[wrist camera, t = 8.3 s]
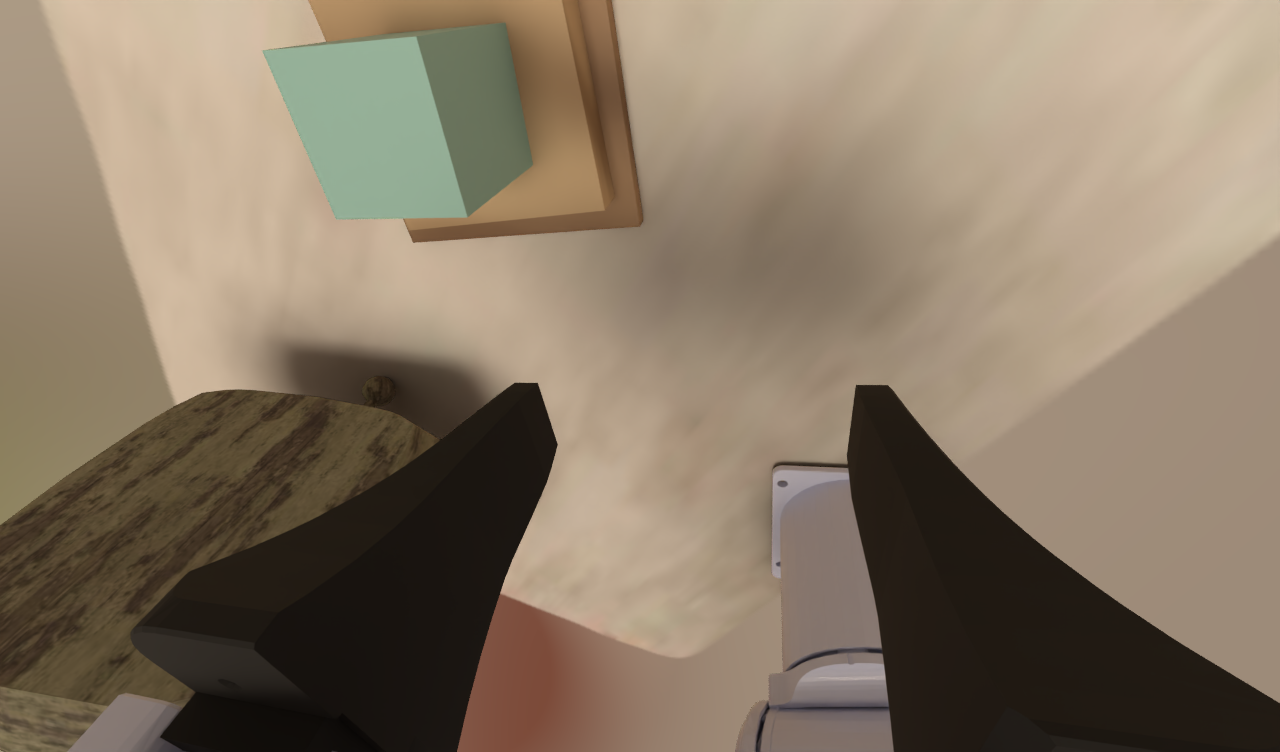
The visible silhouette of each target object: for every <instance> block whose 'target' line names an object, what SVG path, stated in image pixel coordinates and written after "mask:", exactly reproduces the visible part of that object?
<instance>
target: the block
mask: <svg viewBox="0 0 1280 752" xmlns="http://www.w3.org/2000/svg"><path fill="white" fill-rule="evenodd" d="M263 53H264V56H265V58H266V60H267V63H268V65H269V67H270V69H271V72H272V74H273V76H274V79H275V81H276V83H277V85H278V88H279V90H280V92H281V95H282V97H283V99H284V101H285V104H286V106H287V108H288V111H289V113H290V115H291V117H292V120H293V122H294V124H295V126H296V129H297V131H298V133H299V136H300V138H301V140H302V142H303V145H304V147H305V149H306V152H307V154H308V156H309V158H310V161H311V163H312V165H313V168H314V170H315V172H316V174H317V177H318V179H319V181H320V184H321V186H322V188H323V190H324V193H325V195H326V197H327V200H328V202H329V204H330V206H331V209H332V211H333V213H334V216H335V218H336V219H400V218H465V217H469V216H470V215H471V214H472V213H474V212H475V211H476V210H477V209H479V208H480V207H481V206H482V205H484V204H485V203H486V202H488V201H489V200H490V199H491V198H493V197H494V196H495V195H496V194H498V193H499V192H500V191H501V190H503V189H504V188H505V187H506V186H508V185H509V184H510V183H511V182H513V181H514V180H515V179H516V178H518V177H519V176H520V175H521V174H523V173H524V172H525V171H526V170H528V169H529V168H530V167H531V166H533V161H532V156H531V151H530V146H529V141H528V136H527V130H526V125H525V120H524V115H523V110H522V105H521V100H520V95H519V89H518V84H517V79H516V74H515V69H514V64H513V59H512V54H511V48H510V43H509V38H508V33H507V28H506V23H495V24H485V25H474V26H464V27H453V28H442V29H432V30H421V31H411V32H400V33H390V34H381V35H374V36H366V37H359V38H352V39H344V40H337V41H330V42H322V43H315V44H308V45H300V46H293V47H285V48H278V49H271V50H263Z"/></svg>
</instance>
